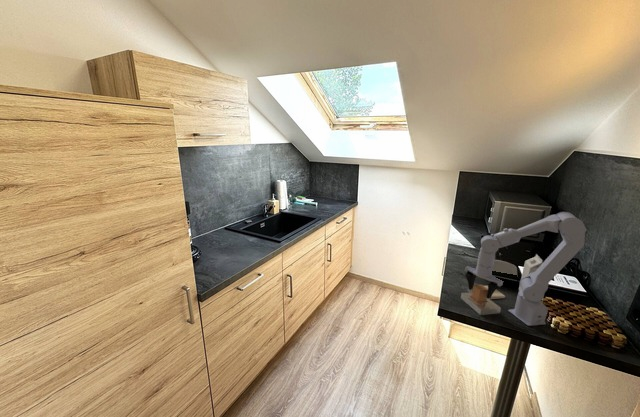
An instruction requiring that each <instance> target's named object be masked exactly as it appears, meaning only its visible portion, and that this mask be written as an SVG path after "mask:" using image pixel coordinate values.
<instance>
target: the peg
mask: <svg viewBox="0 0 640 417" xmlns="http://www.w3.org/2000/svg"><path fill="white" fill-rule="evenodd" d="M484 286H485V285H483V284H474V285H473V289H471V290H472V295H471V298H473V299H474V300H475V301H476V302H477V303H480V302H486V300H487V293H488V289H487V288H485V287H484Z"/></svg>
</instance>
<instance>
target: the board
mask: <svg viewBox="0 0 640 417" xmlns="http://www.w3.org/2000/svg"><path fill="white" fill-rule="evenodd" d="M483 286H484V287H485V288H487V289H488V285H483ZM505 298H506V295H505V294H503V293H502V292H500V291H499V290H497V289H496V290H495V291H494V293H493V294H492V296H491V298H489V299H490V300H495V299H498V300H499V299H505Z"/></svg>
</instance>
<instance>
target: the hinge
mask: <svg viewBox="0 0 640 417" xmlns="http://www.w3.org/2000/svg"><path fill="white" fill-rule="evenodd" d="M492 271H496V272H501V273H507V274H513V275H517V276H518V268H517V266H516V265H515V264H512V263H510V262H507V261H505V260H504V261H503V260H500V259H495V261H494V265H493V270H492Z"/></svg>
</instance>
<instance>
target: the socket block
mask: <svg viewBox="0 0 640 417" xmlns="http://www.w3.org/2000/svg"><path fill="white" fill-rule="evenodd" d="M471 295H472V292H471V291H470V292H468V291H467V292H461V295H460V299H461V300H462V301H463V302H464V303H466V304H467V305H468V306H469V307H470V308H471V309H473V311H475V312H476V313H477V315H480V316H485V315H486V316H487V315H495V314H501V309H502V307H501V306H499V305H498V304H497V303H495V302H494V301H493V300H492V299H488V298H487V300H486V302H480V303H477V302H476V301H475V300H474V299H473V298H471Z"/></svg>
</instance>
